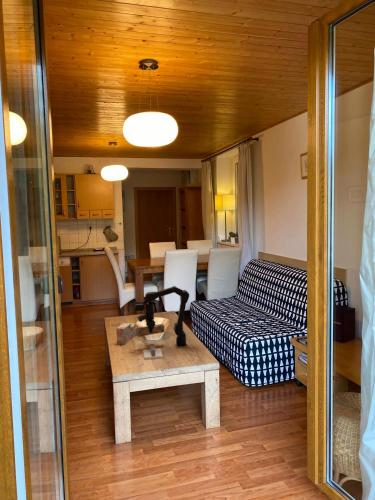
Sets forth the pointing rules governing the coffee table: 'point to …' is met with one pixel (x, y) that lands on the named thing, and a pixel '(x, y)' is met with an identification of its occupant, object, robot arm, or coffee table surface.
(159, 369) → the coffee table surface
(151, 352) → the fulcrum
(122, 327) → the stack of blocks
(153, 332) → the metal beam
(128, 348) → the coffee table surface
